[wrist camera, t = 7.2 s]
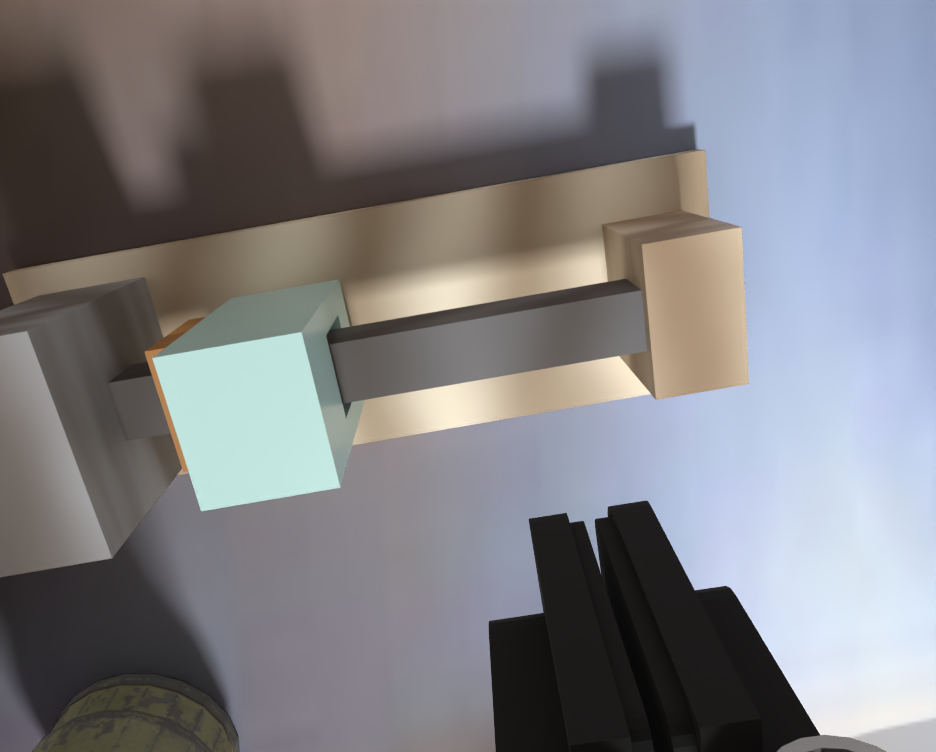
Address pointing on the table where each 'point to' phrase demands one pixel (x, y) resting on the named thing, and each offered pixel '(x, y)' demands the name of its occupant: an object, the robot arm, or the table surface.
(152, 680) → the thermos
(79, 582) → the table surface
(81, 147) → the table surface
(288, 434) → the mint green boxy block
